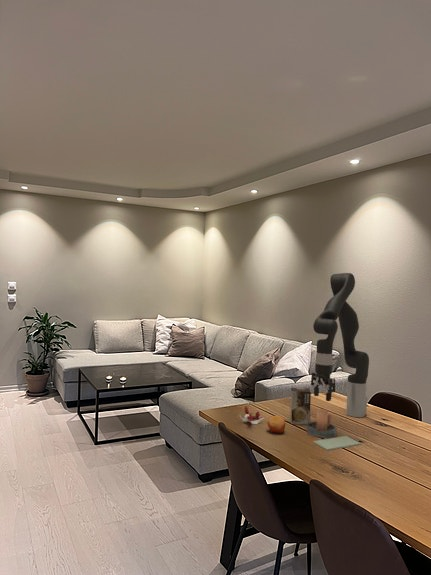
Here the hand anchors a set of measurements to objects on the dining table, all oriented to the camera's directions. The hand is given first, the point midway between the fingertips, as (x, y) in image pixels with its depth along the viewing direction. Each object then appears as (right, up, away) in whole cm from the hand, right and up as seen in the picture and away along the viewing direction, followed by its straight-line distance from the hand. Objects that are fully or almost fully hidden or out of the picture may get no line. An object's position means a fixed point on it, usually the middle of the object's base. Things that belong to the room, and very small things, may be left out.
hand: (322, 398), depth 196 cm
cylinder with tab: (+1, -16, +1) cm, 16 cm away
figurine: (-31, -15, +10) cm, 36 cm away
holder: (0, -16, 0) cm, 16 cm away
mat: (+3, -16, -12) cm, 21 cm away
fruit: (-21, -15, 0) cm, 26 cm away
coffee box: (-8, -15, +13) cm, 22 cm away
